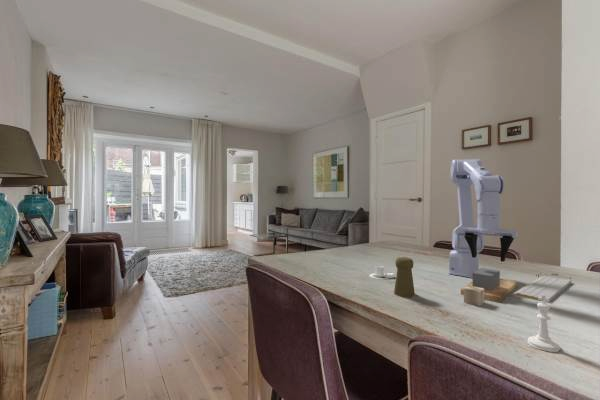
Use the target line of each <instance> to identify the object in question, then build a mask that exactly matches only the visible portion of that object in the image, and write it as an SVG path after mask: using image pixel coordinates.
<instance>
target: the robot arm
mask: <svg viewBox="0 0 600 400" xmlns="http://www.w3.org/2000/svg"><path fill="white" fill-rule="evenodd" d="M449 170H450V179H451V183H453V184H455V186H456V191H457V203H458V215H459V216H458V218H459V219H458V220H459V225H458V226H457V227H455V228H454V229H453V230H452V232H451V233H452V235H451V245H452V248H453V249H452V250H450V253H449V255H448V256H449V263H448V269H449V270H448V274H449V275H454V276H460V277H461V276H462V277H465V278H471V279H473V272H475V271H477V270H479V269H480V268H479V266H480V264H479V263H480V261H479V257H480V256H479V253H481V252H482V251H483V249H484V248H485V237H484V236H491V237H500V238H499V241H500V262H505V261H506V259H507V253H508V251H509V249H510V246H511V245H512V243H513V241H514V239H517V238H519V236H518V234H519V231H518V230H511V229H510V230H509V229H501V228H500V227H501V225H500V224H501V223H500V219H501V218H500V214H501V213H500V212H501V211H500V204H501V203H500V200H501V199H500V197H501V196H500V195H501V194H502V193H503V192H504V191H503V190H504V179H503V177H502V175H501V174H497V175H493V174H492V173H491V171H489V170H488V169H487V168H486V167H485V166H483V162H482V160H481V159H480V158H474V159H472V158H470V159H457V158H456V159H455V158H454V159H452V161H451V163H450V169H449ZM472 184H474V191H475V199H476V200H477V225H475V223H474V211H473V210H474V209H473V200H472V197H473V196H472V187H471V186H472Z"/></svg>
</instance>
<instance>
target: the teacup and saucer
mask: <svg viewBox="0 0 600 400" xmlns="http://www.w3.org/2000/svg"><path fill="white" fill-rule="evenodd" d="M372 270H373V273H370V274H369V275H368V276H369V277H370V278H372V279H376V280H389V279H392V278H394V277H396V276H395V275H396V274H395V273H394V272H388V273H385V265H376V266H373V267H372ZM375 275H376V277H375ZM383 277H384V278H383Z"/></svg>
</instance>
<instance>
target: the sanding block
mask: <svg viewBox="0 0 600 400" xmlns="http://www.w3.org/2000/svg"><path fill="white" fill-rule="evenodd" d="M500 272H501V270H498V269H492V268H486V267H481V268H479V270H477V271H475V272H473V278H472V282H471V283H472V286H474V287H479V288H484V292H488V293H493V292H494V291H495V290H496V289H497V288H499V287H500V279H501V278H500V277H501V276H500V275H501V274H500Z"/></svg>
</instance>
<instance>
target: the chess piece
mask: <svg viewBox="0 0 600 400" xmlns="http://www.w3.org/2000/svg"><path fill="white" fill-rule="evenodd" d="M545 297H546V295H542V297H538V299H539V300H542V301H541V302H538V303H537V304H536V306H537V309H538V312H539V313H537V315H536V318H538V319H539V327H538V333H537V334H536V335H533V336H531V335H530V336H529V337H528V338H527V344H528V345H530V346H531V347H533V348H535V349H537V350H540V351H545V352H549V353H557V352H560V351H561V347H560V344H558V342H556V341H554V340H553V339H552V338H551V337H550V336H549V329H548V321H550V320H551V317H550V316H548V313H549V310H550V308H551V305H550V304H549V303H550V302H549V299H546V298H545ZM539 300H538V301H539ZM545 301H546V302H545ZM548 302H549V303H548ZM559 350H560V351H559Z"/></svg>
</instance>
